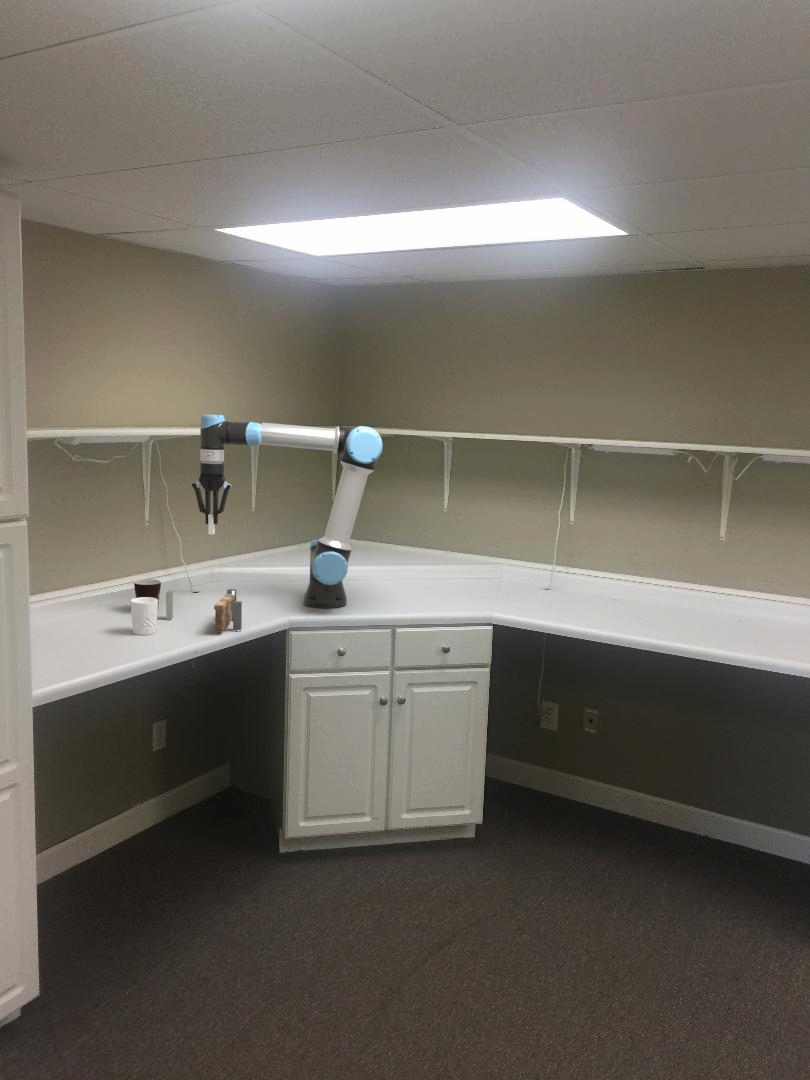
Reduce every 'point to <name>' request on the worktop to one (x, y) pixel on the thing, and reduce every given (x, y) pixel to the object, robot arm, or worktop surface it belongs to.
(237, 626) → the gate frame
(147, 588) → the coffee mug
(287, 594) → the worktop surface
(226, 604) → the wooden flat block
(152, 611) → the white cup
